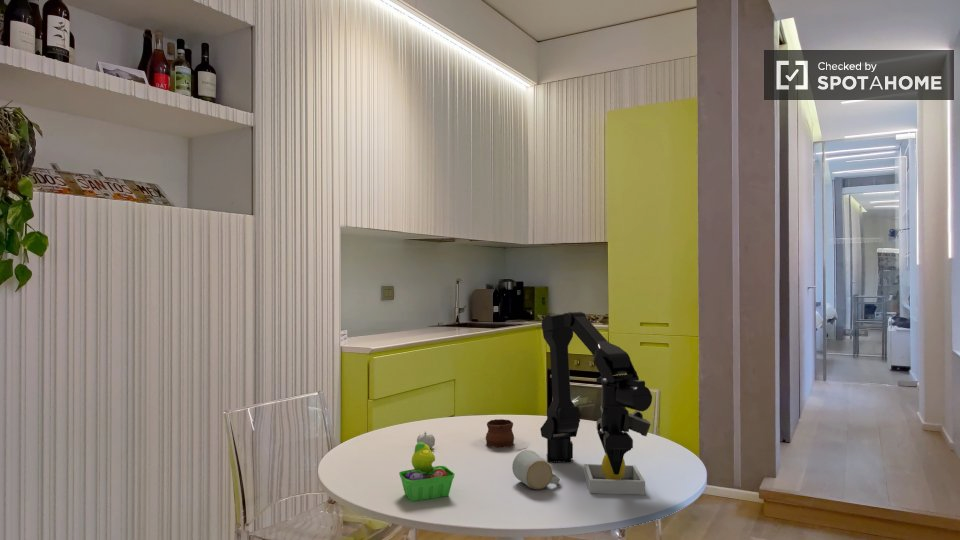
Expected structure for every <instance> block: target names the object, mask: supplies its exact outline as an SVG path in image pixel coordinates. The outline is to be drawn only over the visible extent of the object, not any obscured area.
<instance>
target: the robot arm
mask: <svg viewBox="0 0 960 540" xmlns="http://www.w3.org/2000/svg"><path fill="white" fill-rule="evenodd" d="M541 331H542V335H543V339H544V341H545V342H546V343H547V345H548V346H549V355H550V356H549V357H550V375H551V377H550V378H551V394H552V395H551V396H552V397H551V398H552V401H551V403H550V404H549V407H548V408H547V411H546V412H547V413H546V414H547V415H546V420H545V421H544V423H543V424H542V426H540V429H539V430H540V435H541V438H544V439H546V461H547V462H548V463H572V460H573V458H574V456H573V455H574V453H573V451H574V448H573V447H574V443H573V441H572V440H571V438H576V437H577V434H578V432H579V427H580V422H581V419H580V408H579V406H576V405H575V404H574V402H573V401H572V395H571V392H572V391H571V377H570V360H569V345H570V343H571V342H572V339H573V338H574V335H576V337H577V338H578V339H579V340H580V341H581V342H582V343H583V344H584V346H585V347H586V349H588V350H589V352H590V353H591V354H592V357H593V359H592V360H593V364H594V366H595V367H596V369H597V371H598V372H599V374H600V376H598V377H597V379H596V382H597V383H598V384H599V383H600V384H601V405H600V411H601V417H600V418H598V419H597V420H596V431H597V434H598V438H599V440H600V443H601V446H602V448H603V450H604V453H605V455H606V454H607V456H608V459H609V461H610V464H611V467H612V470H613V473H614V474H615V475H618V474H619V472H620V468H621V464H622V460H623V459H624V457H625V454H626V453H627V452H630V451H631V450H632V449H634V439H633V438H632V437H631V435H630V434H629V433H630V431H632V432H634V433H638V434H640V435H641V436H643V437H647V436H648V433H649V430H650V427H651V425H652V423H650V421H649V420H647V419H646V418H643V413H642V412H645V411H647V410H648V409H649V408H650V407H651V404H652V401H653V394H652V392H651V390H650V389H649V388H648V387H647V386H646V381H645V380H640V379H639V375H638V372H637V371H636V369H635V367H634V365H633V362H632V361H631V358H630V355H629V354H628V353H627V351H625V350H624V349H623V348H621V347H620V346H618V345H615V344H613V343H611V342H609V341H608V340H607V339H606V337H604V336H603V335H602V333H600V331H599V330H598V329H597V328H596V327H595V325H593V323H592V322H591V321H590V320H589V319H588V318H587V315H586V314H585V313H584V312H582V311H568V312H566V313H563V314H559V313H558V314H547V315H545V316H544V319H542V320H541ZM629 409H631V410H634V411H633V412H632V413H631V412H630V413H629Z"/></svg>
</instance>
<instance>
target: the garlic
mask: <svg viewBox="0 0 960 540" xmlns="http://www.w3.org/2000/svg"><path fill="white" fill-rule="evenodd" d="M421 442H423V443H425V444H426V445H428V446H429V448H430V449H432V448H433V447H434V446H435V444H436V439H435V436H434V434H433V433H431V432H427V431H426V430H425V431H424V432H422V433H419V434H418V436H417V438H416V444H417V443H421Z"/></svg>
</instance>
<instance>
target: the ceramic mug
mask: <svg viewBox="0 0 960 540" xmlns="http://www.w3.org/2000/svg"><path fill="white" fill-rule="evenodd" d="M511 466H512V473H513V475H514V477H515V478H516V479H517V480H519V481H520V482H521V483H523V484H525V486H527V487H528V488H530V489H533V490H538V491H539V490H543V489H545V488H546V487H547V486H548V485H549V484H550V483H551V484H553V485H559V482H560V481H561V478H560V477H559V476H558V475H556V474H555V473H553V468H552V466H551V465H550V462H547V459H545V458H543V457H542V456H540V455H539V454H538V453H537V452H536V451H534V450H531V449H523V450H520V451H519V452H518V453H517V454H516V456H515V457H514V459H513V462H512V465H511Z"/></svg>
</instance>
